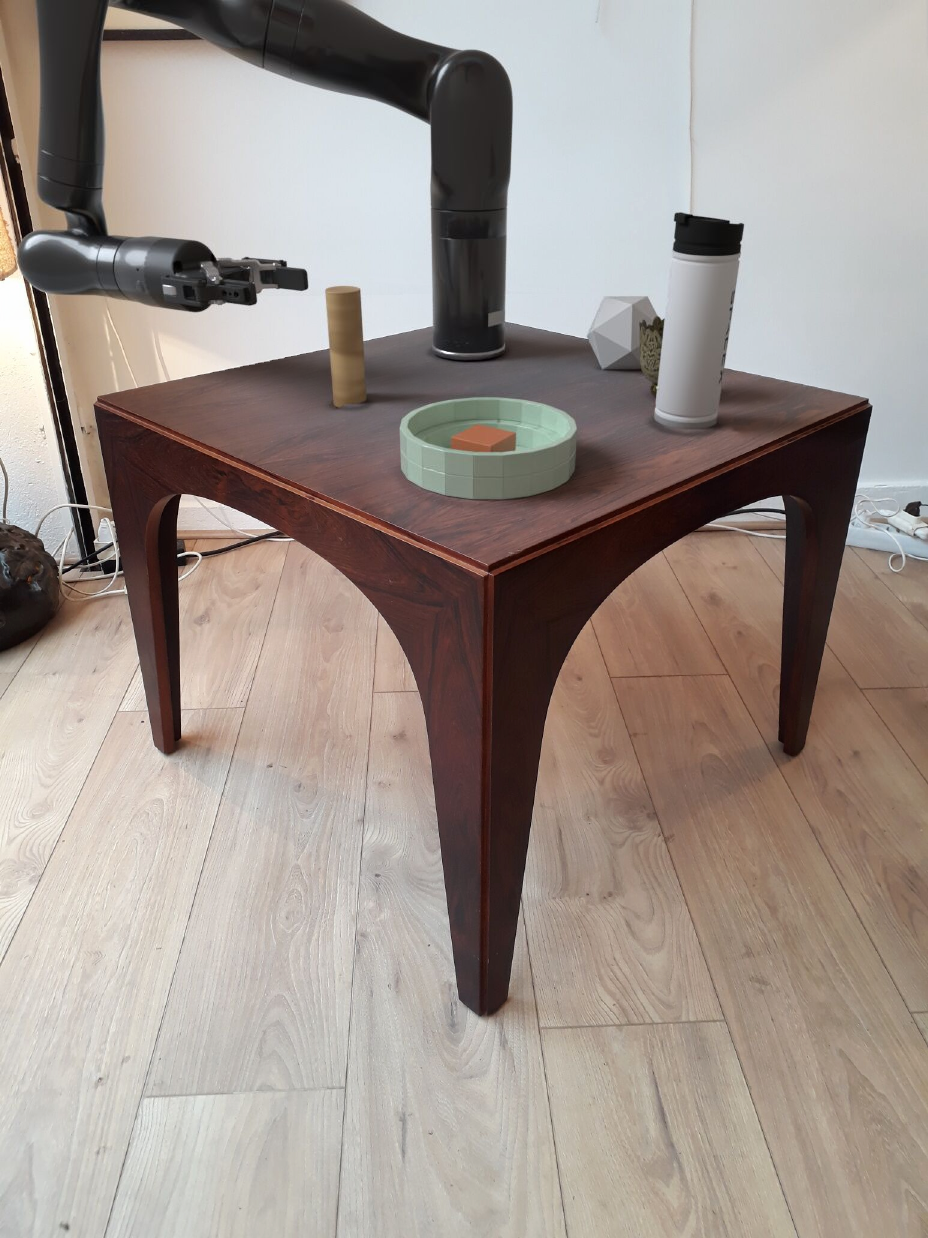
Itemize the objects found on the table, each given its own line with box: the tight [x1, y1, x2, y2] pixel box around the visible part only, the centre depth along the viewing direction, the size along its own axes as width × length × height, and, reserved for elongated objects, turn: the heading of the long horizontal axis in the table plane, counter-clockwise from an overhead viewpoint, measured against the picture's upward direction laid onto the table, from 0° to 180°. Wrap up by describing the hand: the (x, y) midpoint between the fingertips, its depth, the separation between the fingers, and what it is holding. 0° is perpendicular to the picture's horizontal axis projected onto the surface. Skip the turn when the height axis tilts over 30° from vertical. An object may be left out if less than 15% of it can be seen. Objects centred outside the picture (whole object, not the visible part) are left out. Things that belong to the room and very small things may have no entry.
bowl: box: [399, 396, 578, 501], centre depth 81 cm, size 15×15×4 cm
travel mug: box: [653, 212, 745, 430], centre depth 88 cm, size 6×7×20 cm
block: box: [451, 424, 516, 452], centre depth 78 cm, size 4×4×4 cm
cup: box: [639, 315, 665, 398], centre depth 99 cm, size 8×7×8 cm
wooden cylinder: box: [324, 285, 368, 409], centre depth 96 cm, size 4×4×12 cm
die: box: [586, 295, 658, 370], centre depth 110 cm, size 8×9×10 cm
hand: (281, 286), depth 95 cm, fingers open, 8 cm apart
